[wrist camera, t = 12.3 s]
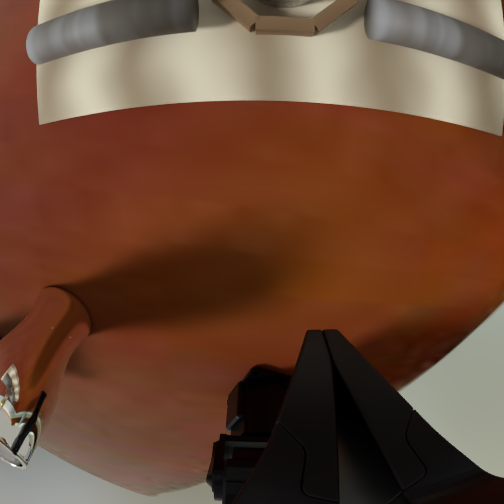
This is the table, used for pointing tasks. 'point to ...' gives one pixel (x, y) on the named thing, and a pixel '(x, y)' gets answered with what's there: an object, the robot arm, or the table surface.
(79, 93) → the shaft board
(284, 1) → the metal cup
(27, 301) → the table surface
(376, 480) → the robot arm
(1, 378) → the beer glass
